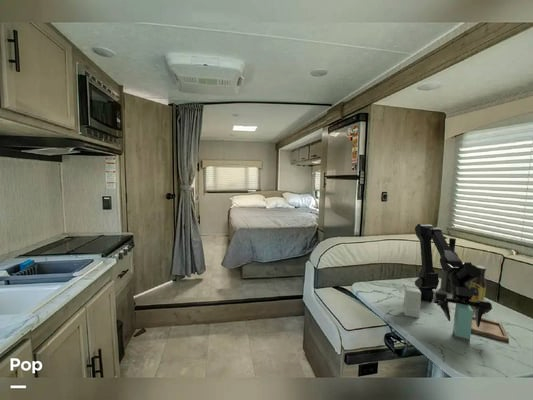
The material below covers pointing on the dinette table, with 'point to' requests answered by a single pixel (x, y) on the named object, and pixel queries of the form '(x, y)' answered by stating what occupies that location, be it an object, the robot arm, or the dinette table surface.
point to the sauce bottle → (479, 285)
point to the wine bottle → (444, 278)
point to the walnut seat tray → (489, 329)
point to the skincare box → (412, 302)
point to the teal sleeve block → (462, 322)
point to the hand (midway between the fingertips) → (463, 323)
